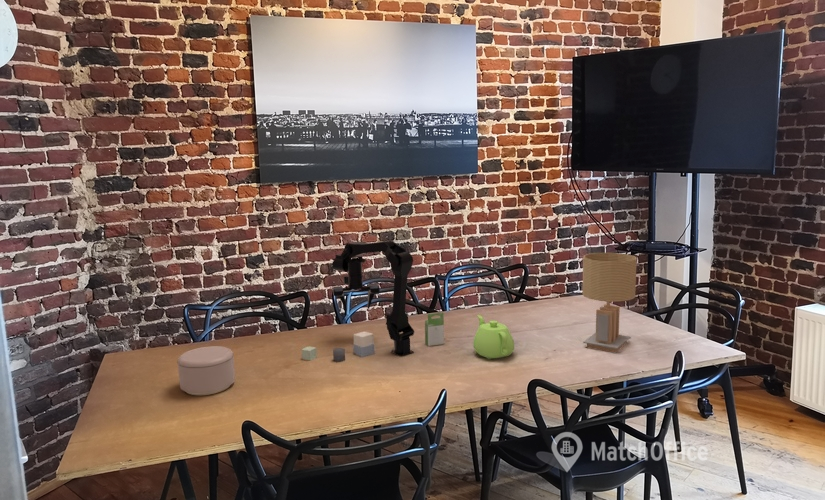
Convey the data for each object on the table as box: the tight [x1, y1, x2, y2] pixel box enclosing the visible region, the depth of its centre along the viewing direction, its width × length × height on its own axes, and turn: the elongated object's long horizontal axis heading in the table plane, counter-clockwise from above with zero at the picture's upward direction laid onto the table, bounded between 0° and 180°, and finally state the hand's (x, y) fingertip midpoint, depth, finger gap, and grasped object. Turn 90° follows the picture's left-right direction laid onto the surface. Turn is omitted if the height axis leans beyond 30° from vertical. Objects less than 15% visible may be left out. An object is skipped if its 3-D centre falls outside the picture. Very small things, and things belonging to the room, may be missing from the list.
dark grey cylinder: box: [332, 347, 346, 363], centre depth 225 cm, size 4×4×4 cm
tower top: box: [353, 330, 375, 347], centre depth 231 cm, size 5×5×4 cm
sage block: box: [301, 345, 318, 361], centre depth 227 cm, size 4×4×4 cm
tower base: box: [352, 343, 376, 358], centre depth 231 cm, size 6×6×4 cm
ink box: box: [424, 311, 445, 347], centre depth 239 cm, size 7×4×13 cm, turn 106°
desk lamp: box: [581, 252, 638, 353], centre depth 231 cm, size 20×20×35 cm
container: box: [177, 345, 236, 396], centre depth 202 cm, size 18×18×12 cm
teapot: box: [472, 314, 515, 360], centre depth 227 cm, size 22×15×13 cm
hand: (357, 310), depth 244 cm, fingers open, 9 cm apart
